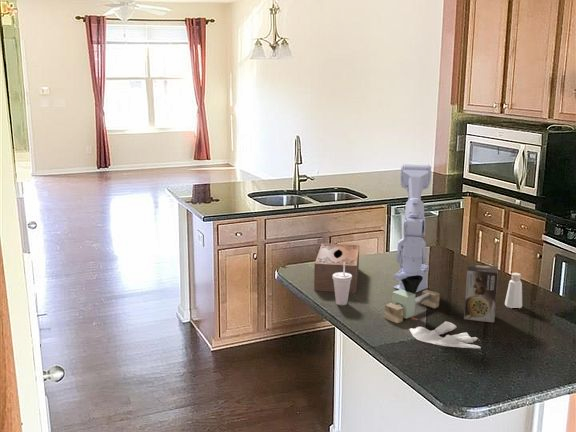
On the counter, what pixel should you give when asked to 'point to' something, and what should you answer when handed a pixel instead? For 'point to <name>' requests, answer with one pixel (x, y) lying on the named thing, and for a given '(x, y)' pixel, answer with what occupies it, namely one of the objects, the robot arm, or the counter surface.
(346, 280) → the smoothie
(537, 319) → the counter surface
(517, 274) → the pepper shaker
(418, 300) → the pipe
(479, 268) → the printed cardboard box
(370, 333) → the counter surface
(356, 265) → the tissue box cover
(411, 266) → the robot arm
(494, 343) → the counter surface
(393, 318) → the pipe supports
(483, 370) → the counter surface
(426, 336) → the cloth
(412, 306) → the collar
